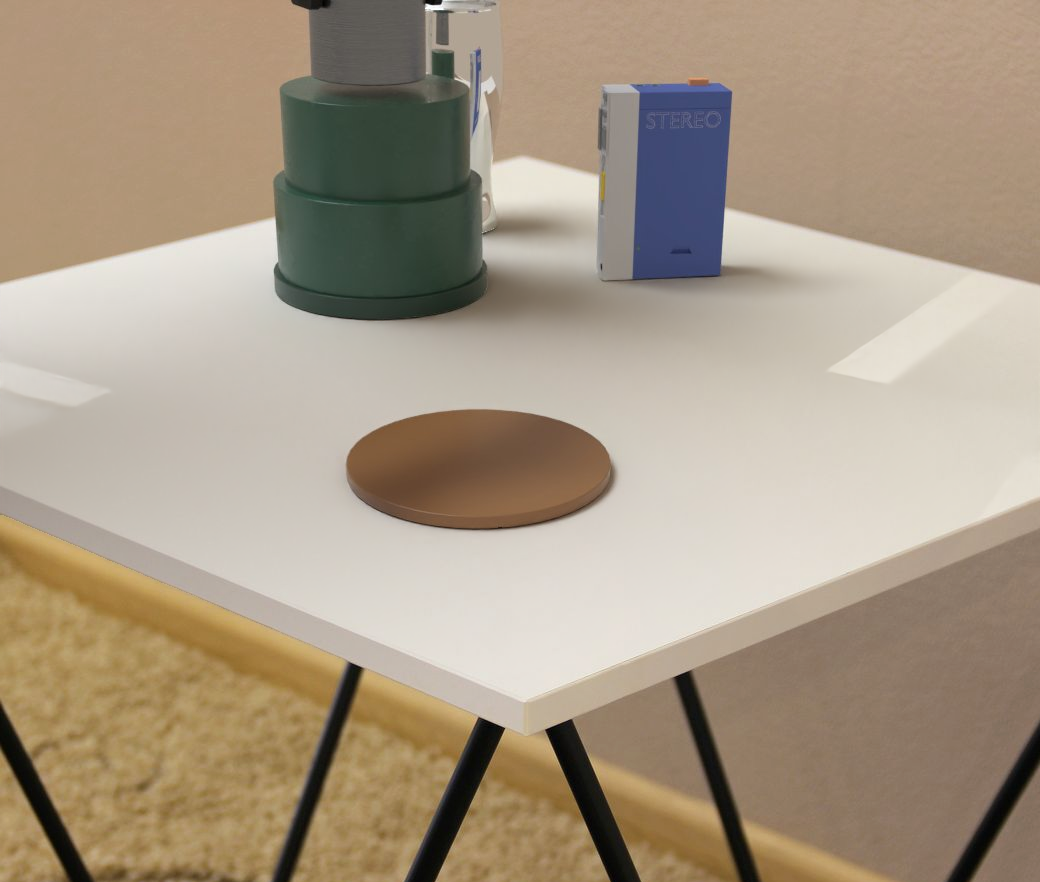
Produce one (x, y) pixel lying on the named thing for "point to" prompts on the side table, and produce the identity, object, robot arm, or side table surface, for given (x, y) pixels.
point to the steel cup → (368, 42)
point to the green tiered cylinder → (378, 200)
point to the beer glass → (472, 75)
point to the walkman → (662, 179)
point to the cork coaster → (478, 468)
